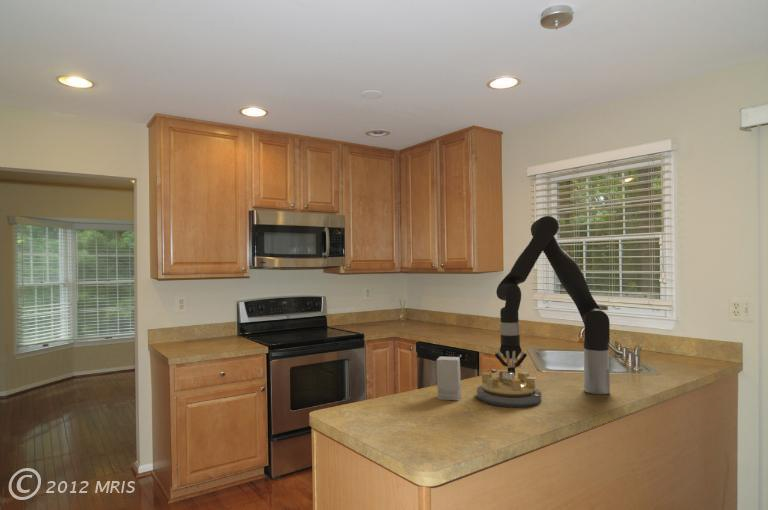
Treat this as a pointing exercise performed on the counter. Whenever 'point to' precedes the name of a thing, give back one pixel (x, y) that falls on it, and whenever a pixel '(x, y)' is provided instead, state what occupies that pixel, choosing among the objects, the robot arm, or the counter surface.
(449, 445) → the counter surface
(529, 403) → the housing
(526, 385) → the brass lugged disc
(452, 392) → the skincare box
